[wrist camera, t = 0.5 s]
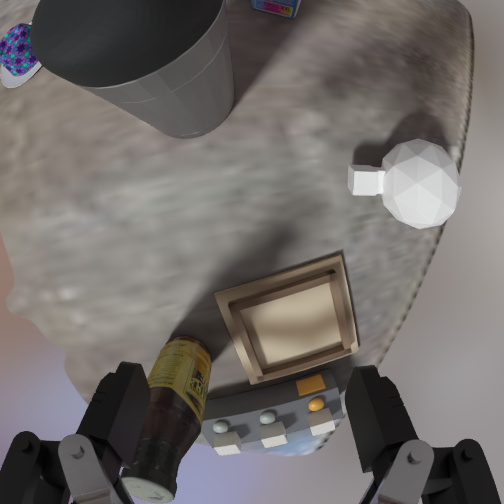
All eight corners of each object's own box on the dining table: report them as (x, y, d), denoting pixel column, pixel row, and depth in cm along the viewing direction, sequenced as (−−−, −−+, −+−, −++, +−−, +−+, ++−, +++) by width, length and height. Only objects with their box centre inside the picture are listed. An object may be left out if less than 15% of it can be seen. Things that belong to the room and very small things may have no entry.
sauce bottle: (212, 376, 33) (194, 517, 14) (163, 370, 33) (117, 501, 14) (214, 333, 32) (189, 485, 12) (161, 327, 31) (95, 462, 12)
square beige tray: (214, 292, 30) (213, 299, 29) (339, 253, 30) (344, 258, 28) (251, 381, 34) (251, 390, 32) (357, 348, 33) (362, 356, 31)
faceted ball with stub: (439, 137, 25) (342, 127, 26) (486, 159, 17) (368, 144, 19) (430, 206, 30) (339, 204, 31) (467, 244, 22) (359, 246, 23)
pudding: (-6, 74, 22) (-26, 68, 17) (39, 10, 20) (22, -2, 15) (22, 101, 24) (-2, 94, 19) (75, 27, 22) (56, 12, 17)
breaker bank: (197, 400, 34) (190, 434, 28) (329, 366, 33) (343, 398, 27) (214, 428, 36) (211, 460, 29) (335, 397, 35) (348, 429, 29)
